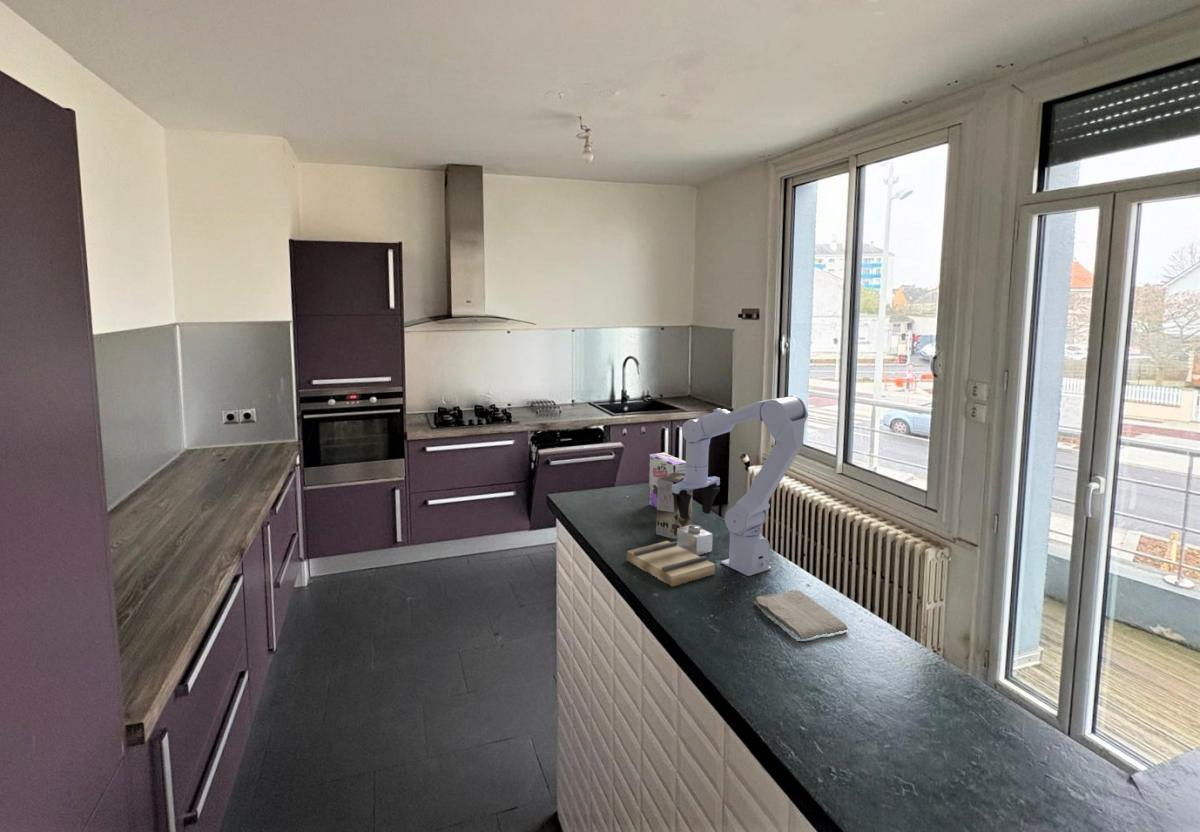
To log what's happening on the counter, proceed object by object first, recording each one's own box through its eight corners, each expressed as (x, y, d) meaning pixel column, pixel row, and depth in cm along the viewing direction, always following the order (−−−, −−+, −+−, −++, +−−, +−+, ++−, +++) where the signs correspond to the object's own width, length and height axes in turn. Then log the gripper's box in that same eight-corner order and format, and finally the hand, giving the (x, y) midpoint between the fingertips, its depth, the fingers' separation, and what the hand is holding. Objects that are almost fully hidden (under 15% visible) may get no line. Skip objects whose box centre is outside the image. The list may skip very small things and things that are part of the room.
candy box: (647, 504, 216) (648, 453, 213) (663, 502, 219) (664, 451, 216) (672, 518, 204) (673, 464, 201) (688, 515, 207) (690, 461, 204)
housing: (711, 552, 179) (712, 530, 177) (696, 556, 176) (697, 533, 175) (692, 542, 185) (692, 521, 184) (676, 546, 183) (677, 524, 181)
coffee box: (675, 539, 187) (677, 482, 183) (655, 534, 190) (656, 478, 187) (692, 530, 194) (694, 474, 191) (672, 525, 198) (674, 471, 194)
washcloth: (796, 597, 153) (796, 585, 153) (850, 636, 137) (851, 621, 136) (749, 606, 149) (750, 593, 149) (800, 647, 133) (801, 632, 132)
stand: (714, 574, 165) (715, 561, 164) (672, 586, 158) (672, 573, 157) (667, 549, 180) (667, 537, 179) (626, 560, 173) (626, 547, 172)
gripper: (707, 457, 183) (705, 506, 186) (664, 465, 176) (663, 516, 178) (726, 463, 178) (724, 513, 180) (682, 471, 170) (681, 524, 172)
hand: (695, 515), depth 179 cm, fingers open, 7 cm apart
